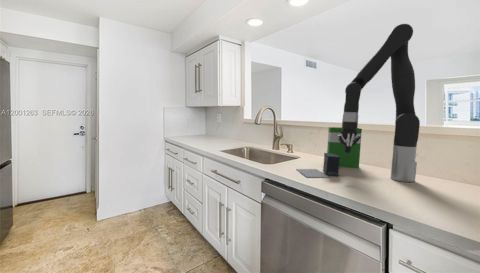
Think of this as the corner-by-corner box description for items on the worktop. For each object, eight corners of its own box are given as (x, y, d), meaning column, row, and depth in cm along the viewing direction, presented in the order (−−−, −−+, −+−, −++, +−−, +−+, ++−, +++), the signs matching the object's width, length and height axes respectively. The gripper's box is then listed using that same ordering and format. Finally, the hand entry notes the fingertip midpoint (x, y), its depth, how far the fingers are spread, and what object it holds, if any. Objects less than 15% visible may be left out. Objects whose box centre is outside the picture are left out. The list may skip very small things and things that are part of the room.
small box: (339, 176, 116) (340, 156, 114) (325, 175, 117) (327, 156, 116) (334, 171, 126) (335, 153, 125) (322, 170, 127) (323, 152, 126)
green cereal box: (355, 165, 143) (358, 127, 141) (358, 167, 136) (361, 128, 133) (326, 163, 147) (328, 127, 145) (328, 165, 140) (330, 127, 138)
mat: (316, 169, 129) (316, 169, 129) (329, 177, 113) (329, 176, 113) (296, 169, 128) (296, 169, 128) (306, 177, 112) (306, 176, 112)
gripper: (341, 120, 115) (339, 153, 117) (366, 121, 116) (363, 154, 118) (334, 120, 122) (332, 151, 124) (357, 121, 123) (354, 151, 125)
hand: (347, 152), depth 121 cm, fingers closed
